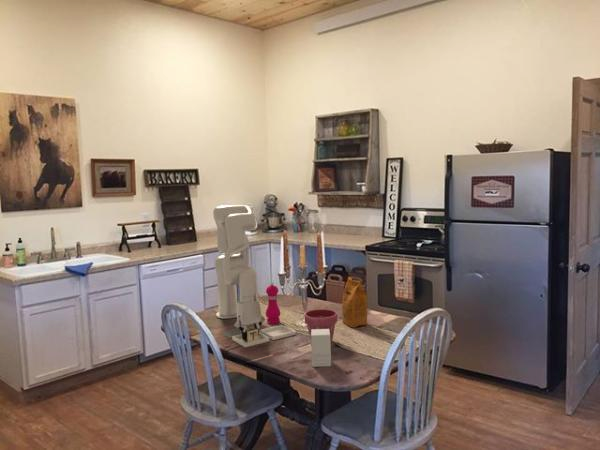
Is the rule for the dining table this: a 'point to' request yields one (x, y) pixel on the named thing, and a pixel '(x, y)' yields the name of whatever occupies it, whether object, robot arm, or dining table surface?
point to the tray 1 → (239, 340)
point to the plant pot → (321, 320)
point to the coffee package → (354, 304)
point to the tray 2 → (277, 332)
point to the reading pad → (231, 332)
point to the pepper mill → (272, 305)
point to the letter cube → (251, 334)
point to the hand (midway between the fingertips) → (250, 338)
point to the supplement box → (321, 347)
